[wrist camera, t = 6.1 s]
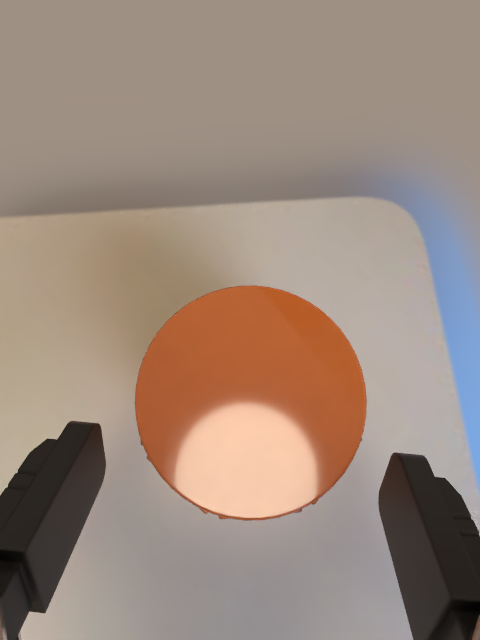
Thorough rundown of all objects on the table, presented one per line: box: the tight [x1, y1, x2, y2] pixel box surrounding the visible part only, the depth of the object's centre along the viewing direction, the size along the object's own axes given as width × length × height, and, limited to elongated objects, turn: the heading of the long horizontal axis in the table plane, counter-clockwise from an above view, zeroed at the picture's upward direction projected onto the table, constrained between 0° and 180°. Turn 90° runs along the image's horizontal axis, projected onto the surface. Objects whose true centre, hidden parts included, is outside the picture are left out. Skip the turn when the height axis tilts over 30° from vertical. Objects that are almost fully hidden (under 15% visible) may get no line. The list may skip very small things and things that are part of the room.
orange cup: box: [135, 286, 367, 521], centre depth 15 cm, size 6×6×8 cm
